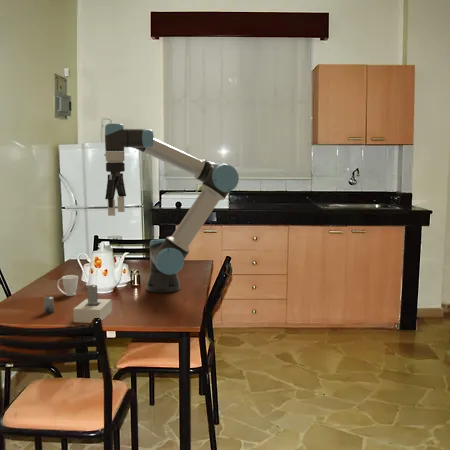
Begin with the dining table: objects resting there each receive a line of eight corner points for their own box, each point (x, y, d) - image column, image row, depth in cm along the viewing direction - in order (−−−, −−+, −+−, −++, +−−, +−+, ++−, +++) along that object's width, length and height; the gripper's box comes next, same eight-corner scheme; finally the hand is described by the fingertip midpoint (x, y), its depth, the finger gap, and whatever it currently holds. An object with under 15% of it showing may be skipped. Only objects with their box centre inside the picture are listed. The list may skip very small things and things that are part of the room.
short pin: (55, 311, 212) (54, 296, 211) (51, 314, 208) (51, 298, 208) (46, 311, 212) (46, 296, 212) (42, 313, 209) (42, 298, 208)
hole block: (111, 311, 211) (111, 299, 211) (100, 322, 197) (99, 309, 197) (86, 311, 212) (86, 298, 211) (73, 322, 198) (73, 309, 198)
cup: (73, 297, 233) (72, 279, 232) (53, 295, 235) (52, 277, 234) (82, 293, 239) (81, 275, 238) (62, 291, 242) (61, 274, 241)
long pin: (99, 315, 206) (98, 284, 205) (96, 318, 203) (95, 287, 201) (90, 315, 207) (89, 284, 205) (87, 318, 203) (85, 287, 202)
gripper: (115, 161, 233) (116, 210, 236) (96, 162, 209) (98, 217, 211) (132, 161, 232) (133, 210, 235) (115, 162, 208) (116, 217, 211)
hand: (116, 213), depth 223 cm, fingers open, 13 cm apart
